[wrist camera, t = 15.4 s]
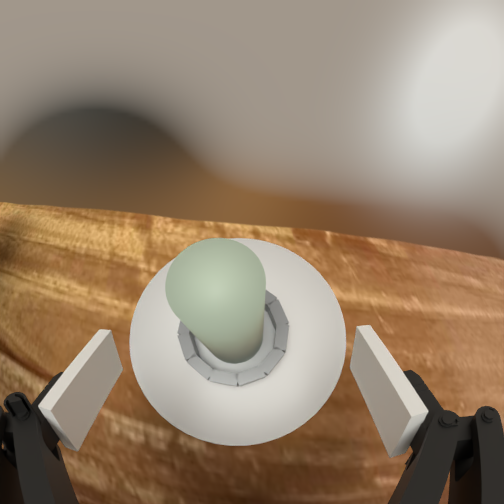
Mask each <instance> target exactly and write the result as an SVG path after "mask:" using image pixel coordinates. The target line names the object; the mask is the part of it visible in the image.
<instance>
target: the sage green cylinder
mask: <svg viewBox="0 0 504 504" xmlns="http://www.w3.org/2000/svg"><path fill="white" fill-rule="evenodd" d="M265 291H266V276H265V271H264V268H263V266H262V263H261V262H260V260H259V258H258V257H257V256H256V254H255V253H254V252H253V251H252V250H251V249H249V248H248V247H247V246H245V245H243V244H242V243H239V242H237V241H234V240H231V239H226V238H211V239H205V240H202V241H199V242H196V243H194V244H192V245H190V246H189V247H187V248H186V249H184V250H183V251H182V252H181V253H180V254H179V255H178V256H177V257H176V258H175V260H174V261H173V263H172V264H171V266H170V268H169V270H168V273H167V277H166V283H165V292H166V297H167V301H168V304H169V306H170V308H171V309H172V311H173V312H174V314H175V315H176V316H177V317H178V318H179V319H180V320H181V322H182V323H183V324H184V325H185V326H186V327H187V328H188V329H189V330H190V331H191V332H192V333H193V334H194V335H195V336H196V338H197V339H198V340H199V341H200V342H201V343H202V344H203V345H204V346H205V347H206V348H207V349H208V350H209V351H210V352H211V353H212V354H213V355H214V356H215V357H216V358H218V359H219V360H221V361H223V362H226V363H231V364H238V363H243V362H246V361H248V360H249V359H251V358H252V357H254V356H255V355H256V354H257V352H258V351H259V349H260V347H261V345H262V341H263V327H264V310H265Z"/></svg>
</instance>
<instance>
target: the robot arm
mask: <svg viewBox="0 0 504 504" xmlns="http://www.w3.org/2000/svg"><path fill="white" fill-rule="evenodd" d="M350 369H351V371H352V374H353V376H354V378H355V380H356V382H357V384H358V387H359V389H360V391H361V393H362V395H363V398H364V400H365V402H366V404H367V407H368V409H369V411H370V413H371V416H372V418H373V420H374V422H375V425H376V427H377V429H378V432H379V434H380V436H381V439H382V441H383V443H384V446H385V448H386V451H387V453H388V455H389V458H391V457H394V456H397V455H401V454H404V453H406V451H407V449H408V448H409V446H411V448H412V450H413V453H412V454H411V456H410V457H409V459H408V460H407V462H406V463H405V464H406V468H405V470H404V472H403V474H402V477H401V479H400V481H399V483H398V485H397V487H396V489H395V491H394V493H393V495H392V497H391V499H390V500H389V502H388V504H439V501H440V498H441V496H442V493H443V490H444V487H445V484H446V481H447V478H448V474H449V471H450V485H449V499H448V504H504V433H503V428H502V423H501V419H500V415H499V413H498V411H497V410H496V409H494V408H492V407H489V406H484V407H481V408H479V409H478V410H477V412H476V414H475V415H474V416H467V417H459V416H458V415H457V414H456V413H454V412H452V411H449V410H443V408H442V407H441V406H440V404H439V403H438V401H437V400H436V398H435V397H434V395H433V394H432V393H431V391H430V390H428V387H427V386H426V384H424V381H423V380H422V379H421V377H420V376H419V375H418V374H416V373H415V372H413V371H412V370H408V371H404V372H402V370H401V369H400V367H399V366H398V364H397V363H396V361H395V360H394V358H393V357H392V355H391V354H390V353H389V351H388V350H387V348H386V347H385V345H384V344H383V343H382V341H381V340H380V338H379V337H378V336H377V334H376V333H375V331H374V330H373V329H372V327H371V326H370V325H365V326H357V328H356V334H355V340H354V346H353V352H352V358H351V363H350ZM122 370H123V368H122V365H121V362H120V359H119V355H118V352H117V349H116V346H115V342H114V339H113V336H112V332H111V330H102V329H100V330H99V331H98V332H97V333H96V334H95V335H94V337H93V338H92V339H91V340H90V341H89V342H88V344H87V345H86V346H85V347H84V348H83V350H82V351H81V352H80V353H79V354H78V356H77V357H76V358H75V359H74V360H73V362H72V363H71V364H70V365H69V367H68V368H67V369H66V370H65V372H60V373H59V374H57V375H56V376H54V377H53V378H52V380H51V381H50V382H49V384H48V385H47V386H46V387H45V390H43V391H42V392H41V393H40V395H39V396H38V397H37V398H36V400H35V401H34V402H33V404H32V405H31V404H30V402H29V401H28V399H27V397H26V396H25V395H24V394H23V393H21V392H15V393H12V394H10V395H9V396H7V397H6V399H5V400H4V406H5V407H6V409H7V410H8V412H9V413H7V412H4V410H3V409H2V407H1V406H0V504H79V503H78V500H77V498H76V495H75V493H74V490H73V488H72V485H71V482H70V479H69V476H68V473H67V470H66V467H65V464H64V461H63V458H62V454H61V451H60V448H59V446H58V445H57V443H58V441H59V440H61V442H62V443H63V445H64V446H65V447H67V448H69V449H72V450H75V451H79V449H80V447H81V445H82V443H83V441H84V439H85V437H86V435H87V433H88V431H89V429H90V428H91V426H92V424H93V422H94V420H95V418H96V416H97V415H98V413H99V411H100V409H101V407H102V406H103V404H104V402H105V400H106V398H107V397H108V395H109V393H110V391H111V389H112V388H113V386H114V384H115V382H116V381H117V379H118V377H119V376H120V374H121V372H122ZM2 443H3V445H4V449H2Z"/></svg>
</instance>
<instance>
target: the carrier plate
mask: <svg viewBox="0 0 504 504" xmlns="http://www.w3.org/2000/svg"><path fill="white" fill-rule="evenodd" d="M231 240H234V241H237V242H239V243H242V244H243V245H245V246H247V247H248V248H249V249H251V250H252V251H253V252H254V253H255V254H256V256H257V257H258V258H259V260H260V262H261V263H262V266H263V268H264V271H265V276H266V291H265V310H264V327H263V341H262V345H261V347H260V349H259V351H258V352H257V354H256V355H255V356H254V357H252V358H251V359H249V360H248V361H246V362H243V363H238V364H231V363H226V362H223V361H221V360H219V359H218V358H216V357H215V356H214V355H213V354H212V353H211V352H210V351H209V350H208V349H207V348H206V347H205V346H204V345H203V344H202V343H201V342H200V341H199V340H198V339H197V338H196V336H195V335H194V334H193V333H192V332H191V331H190V330H189V329H188V328H187V327H186V326H185V325H184V324H183V323H182V322H181V320H180V319H179V318H178V317H177V316H176V315H175V314H174V312H173V311H172V309H171V308H170V306H169V304H168V301H167V297H166V292H165V283H166V277H167V273H168V270H169V268H170V266H171V264H172V263H173V261H174V260H175V258H174V259H173V260H172V261H170V262H169V263H168V264H166V265H165V266H164V267H163V268H162V269H161V270H160V271H159V272H158V273H157V274H156V275H155V276H154V278H153V279H152V280H151V281H150V283H149V284H148V286H147V287H146V288H145V290H144V291H143V293H142V295H141V297H140V299H139V301H138V304H137V306H136V309H135V312H134V315H133V319H132V324H131V329H130V356H131V361H132V366H133V370H134V373H135V376H136V379H137V381H138V383H139V385H140V387H141V389H142V391H143V393H144V395H145V396H146V398H147V399H148V401H149V402H150V404H151V405H152V406H153V407H154V408H155V409H156V411H157V412H158V413H159V414H160V415H161V416H162V417H163V418H165V419H166V420H167V421H168V422H169V423H171V424H172V425H173V426H175V427H176V428H178V429H180V430H181V431H183V432H184V433H186V434H188V435H191V436H193V437H195V438H198V439H200V440H203V441H207V442H211V443H214V444H221V445H229V446H247V445H253V444H260V443H264V442H268V441H271V440H274V439H277V438H280V437H282V436H284V435H286V434H288V433H290V432H292V431H294V430H295V429H297V428H298V427H300V426H301V425H303V424H304V423H306V422H307V421H308V420H309V419H310V418H311V417H313V416H314V415H315V414H316V413H317V412H318V411H319V409H320V408H321V407H322V406H323V405H324V404H325V402H326V401H327V399H328V398H329V396H330V395H331V393H332V392H333V390H334V388H335V386H336V384H337V381H338V379H339V377H340V374H341V371H342V367H343V364H344V358H345V351H346V331H345V324H344V319H343V315H342V312H341V308H340V306H339V303H338V301H337V299H336V297H335V294H334V293H333V291H332V290H331V288H330V286H329V285H328V283H327V282H326V281H325V279H324V278H323V277H322V276H321V274H320V273H319V272H318V271H317V270H316V269H315V268H314V267H313V266H312V265H311V264H309V263H308V262H307V261H305V260H304V259H303V258H301V257H300V256H298V255H297V254H295V253H293V252H291V251H290V250H288V249H285V248H283V247H281V246H278V245H276V244H272V243H269V242H266V241H261V240H255V239H244V238H233V239H231Z"/></svg>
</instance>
